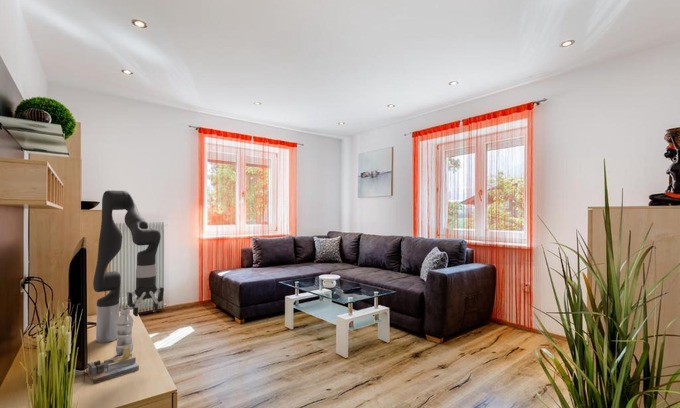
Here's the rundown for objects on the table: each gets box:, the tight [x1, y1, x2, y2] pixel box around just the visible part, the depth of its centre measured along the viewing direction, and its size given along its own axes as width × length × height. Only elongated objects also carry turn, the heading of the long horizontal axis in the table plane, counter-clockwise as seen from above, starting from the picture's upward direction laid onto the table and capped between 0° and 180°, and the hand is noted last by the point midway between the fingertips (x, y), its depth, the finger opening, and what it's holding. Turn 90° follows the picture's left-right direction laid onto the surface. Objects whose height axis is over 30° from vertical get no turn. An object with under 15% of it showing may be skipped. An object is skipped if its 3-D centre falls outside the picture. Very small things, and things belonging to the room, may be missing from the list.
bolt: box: [112, 346, 131, 363], centre depth 138 cm, size 3×6×6 cm, turn 138°
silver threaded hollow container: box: [115, 307, 134, 356], centre depth 150 cm, size 6×7×20 cm
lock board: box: [85, 352, 140, 384], centre depth 135 cm, size 14×15×4 cm
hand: (145, 313), depth 144 cm, fingers open, 6 cm apart
